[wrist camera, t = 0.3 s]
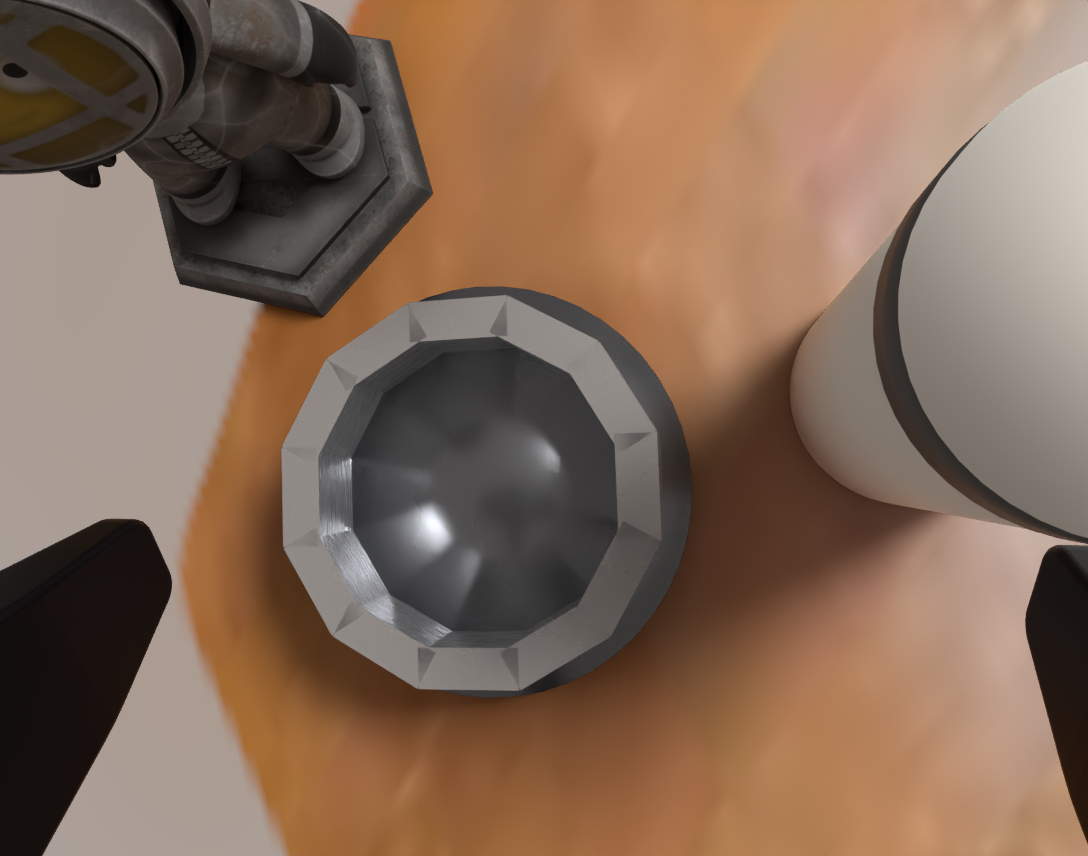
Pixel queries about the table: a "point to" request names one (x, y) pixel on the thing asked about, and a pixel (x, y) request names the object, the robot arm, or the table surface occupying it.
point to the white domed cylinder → (969, 334)
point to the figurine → (222, 132)
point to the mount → (486, 492)
